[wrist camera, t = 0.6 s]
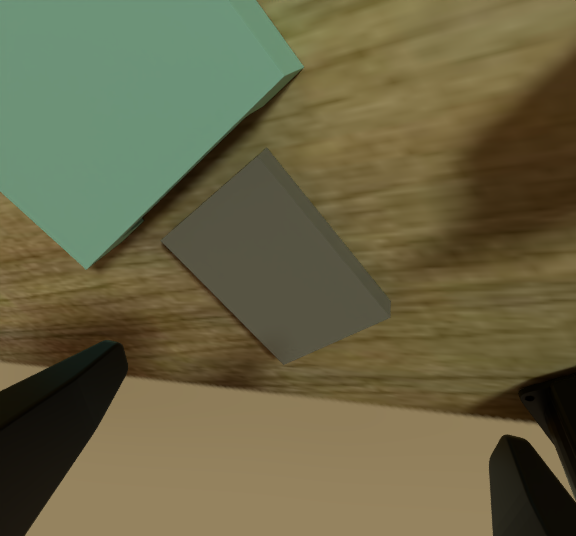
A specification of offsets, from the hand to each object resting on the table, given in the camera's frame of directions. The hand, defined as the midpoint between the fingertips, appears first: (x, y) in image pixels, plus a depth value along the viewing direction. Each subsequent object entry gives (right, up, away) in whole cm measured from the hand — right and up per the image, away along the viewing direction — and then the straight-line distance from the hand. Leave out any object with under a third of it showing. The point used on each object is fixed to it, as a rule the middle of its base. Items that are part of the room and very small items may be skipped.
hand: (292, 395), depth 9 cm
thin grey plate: (-1, +3, +13) cm, 14 cm away
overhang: (-8, +12, +10) cm, 18 cm away
